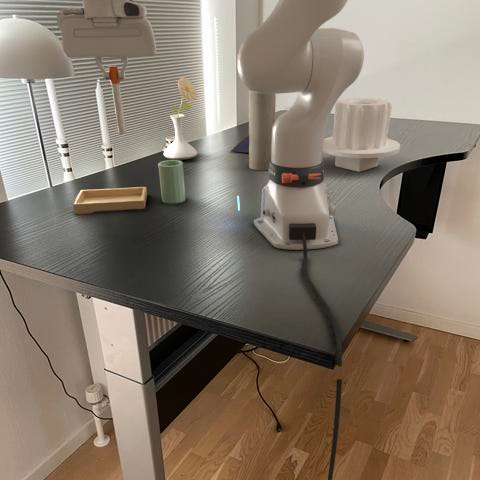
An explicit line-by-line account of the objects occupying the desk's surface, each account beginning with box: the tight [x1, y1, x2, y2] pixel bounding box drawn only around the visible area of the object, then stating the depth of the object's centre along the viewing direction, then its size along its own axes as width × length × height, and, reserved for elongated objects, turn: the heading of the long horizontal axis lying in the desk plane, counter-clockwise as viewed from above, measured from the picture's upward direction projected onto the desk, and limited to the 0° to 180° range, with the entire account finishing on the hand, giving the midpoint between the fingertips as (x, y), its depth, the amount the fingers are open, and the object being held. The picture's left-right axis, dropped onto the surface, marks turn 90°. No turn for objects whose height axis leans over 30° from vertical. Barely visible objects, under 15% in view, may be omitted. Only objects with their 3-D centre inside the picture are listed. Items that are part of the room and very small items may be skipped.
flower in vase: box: [163, 76, 198, 161], centre depth 157 cm, size 13×11×25 cm
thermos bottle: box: [248, 90, 277, 171], centre depth 145 cm, size 8×8×28 cm
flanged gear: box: [323, 97, 401, 173], centre depth 147 cm, size 25×25×19 cm
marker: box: [108, 65, 127, 135], centre depth 112 cm, size 2×2×14 cm
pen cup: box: [157, 159, 187, 204], centre depth 124 cm, size 6×6×10 cm
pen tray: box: [72, 186, 148, 215], centre depth 124 cm, size 11×17×3 cm, turn 97°
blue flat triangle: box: [230, 135, 249, 154], centre depth 176 cm, size 24×30×4 cm
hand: (114, 79), depth 109 cm, fingers closed on marker, 2 cm apart
